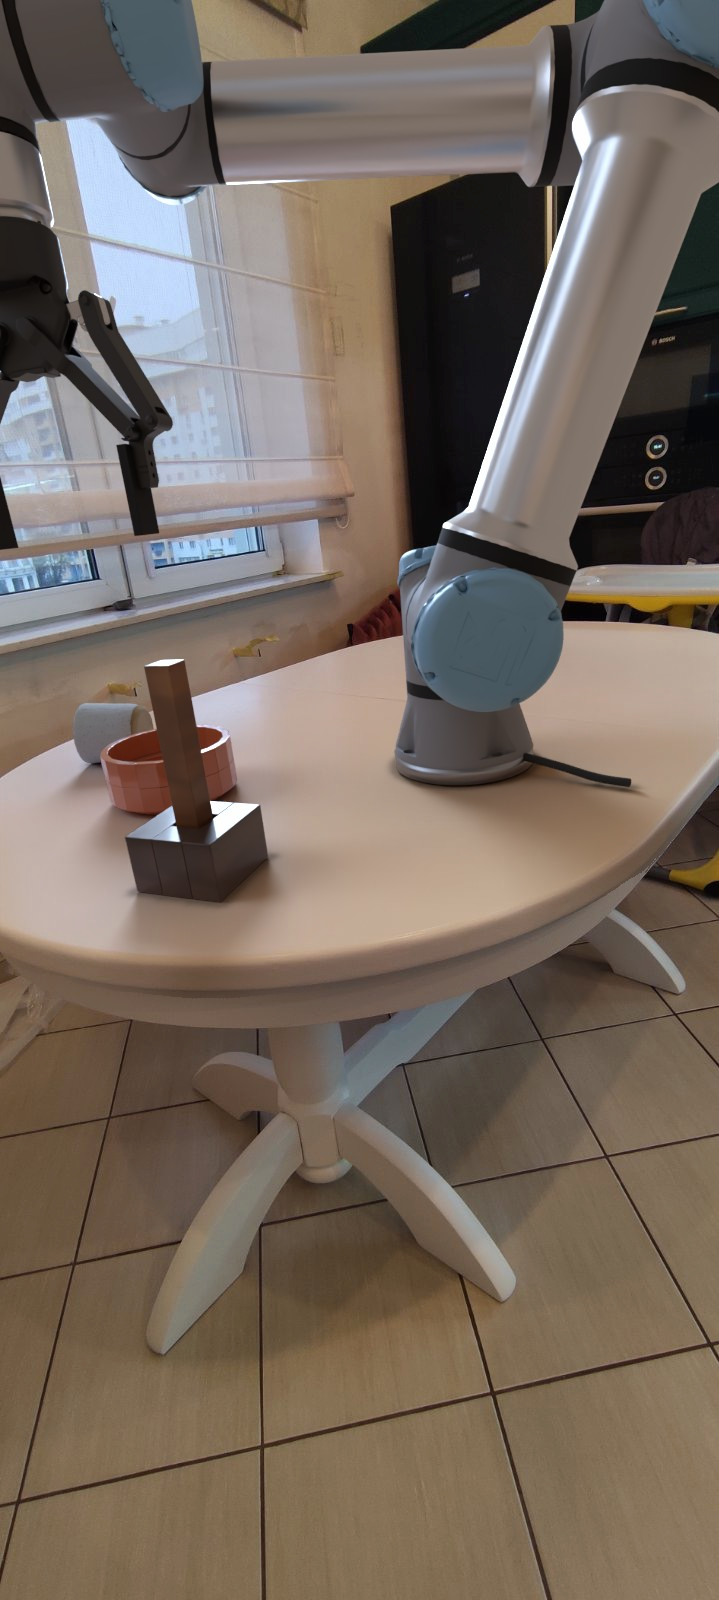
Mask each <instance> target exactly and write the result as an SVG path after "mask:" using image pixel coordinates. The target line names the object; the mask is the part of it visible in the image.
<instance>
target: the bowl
mask: <svg viewBox="0 0 719 1600" xmlns="http://www.w3.org/2000/svg"><path fill="white" fill-rule="evenodd" d="M196 726H197V731H198V737H199V742H200V748H201V753H202V759H203V764H204V770H205V775H206V781H207V786H208V792H209V797H210V801H216V800H217V799H219V798H220V797H222V796H223V795H224V794H226V793H227V792H228V791H230V790H231V789H233V788H234V786H235V785H236V783H237V781H238V775H237V769H236V763H235V758H234V751H233V745H232V740H231V739H232V738H231V735H230V732H229V730H228V729H226V728H223V727H222V726H217V725H211V724H196ZM100 759H101V767H102V771H103V775H104V779H105V783H106V788H107V792H108V797H109V801H110V803H111V804H112V805H113V806H114V807H115V808H117V809H120V810H123V811H126V812H131V813H135V814H140V815H159V814H160V813H162V812H163V811H165V810H166V809H168V808H169V807H171V806H172V802H171V797H170V792H169V787H168V782H167V777H166V772H165V767H164V763H163V758H162V753H161V748H160V743H159V738H158V733H157V728H154V729H153V730H148V731H144V732H140V733H136V734H133V735H130V736H127V737H124V738H121V739H119V740H117V741H115V742H113V743H111V744H109V745H108V746H106V747H105V748H104V749H103V750H102V751H101V755H100Z"/></svg>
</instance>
